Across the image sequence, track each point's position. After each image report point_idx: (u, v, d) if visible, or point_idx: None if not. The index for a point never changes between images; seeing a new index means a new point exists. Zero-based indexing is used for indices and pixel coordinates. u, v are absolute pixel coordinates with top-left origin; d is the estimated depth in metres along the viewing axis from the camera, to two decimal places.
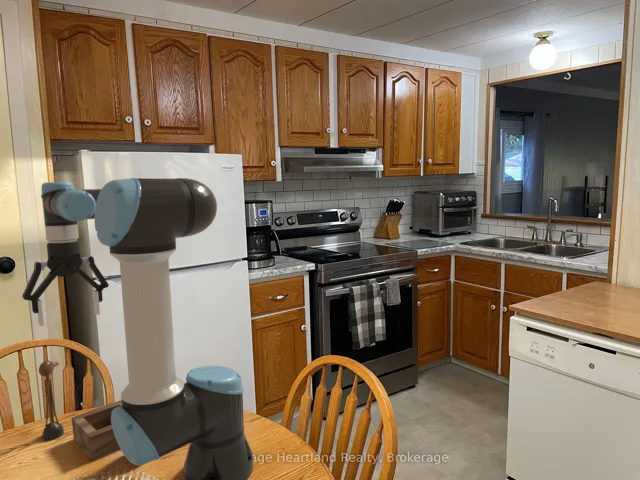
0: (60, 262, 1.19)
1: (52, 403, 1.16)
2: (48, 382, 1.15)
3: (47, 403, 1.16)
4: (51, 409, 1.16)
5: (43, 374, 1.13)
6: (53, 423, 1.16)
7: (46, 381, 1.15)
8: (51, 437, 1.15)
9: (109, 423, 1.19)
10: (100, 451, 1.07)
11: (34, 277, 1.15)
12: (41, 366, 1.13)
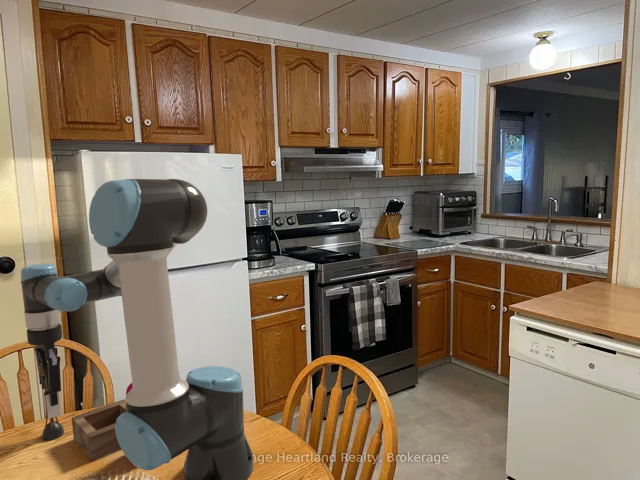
0: None
1: None
2: None
3: None
4: None
5: (42, 373, 1.14)
6: (53, 423, 1.16)
7: (45, 380, 1.15)
8: (51, 437, 1.15)
9: (109, 423, 1.19)
10: (100, 451, 1.07)
11: (37, 362, 1.18)
12: (40, 365, 1.13)
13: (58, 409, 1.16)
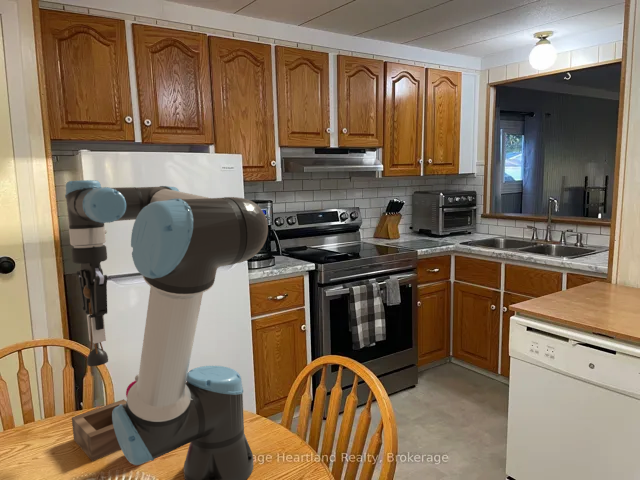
0: (82, 263, 1.10)
1: None
2: None
3: (91, 327, 1.10)
4: None
5: (88, 295, 1.08)
6: (98, 349, 1.11)
7: None
8: (96, 363, 1.09)
9: (109, 423, 1.19)
10: (100, 451, 1.07)
11: (79, 286, 1.12)
12: (86, 287, 1.08)
13: (103, 334, 1.11)
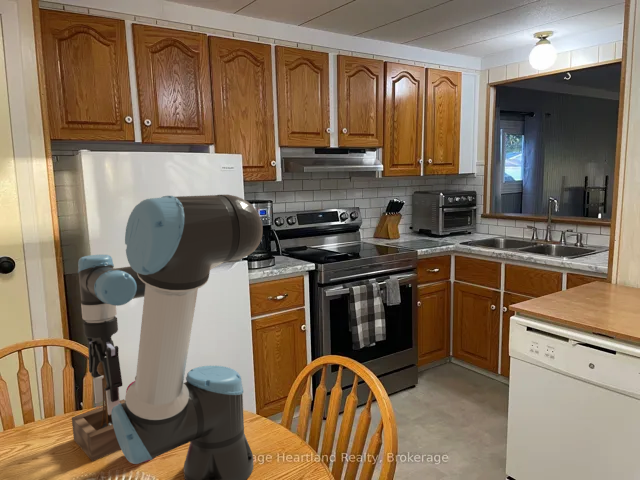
0: (94, 337, 1.12)
1: None
2: None
3: (104, 403, 1.13)
4: (107, 409, 1.13)
5: (101, 373, 1.11)
6: (109, 423, 1.14)
7: (104, 380, 1.12)
8: None
9: None
10: (100, 451, 1.07)
11: (88, 351, 1.16)
12: (100, 365, 1.10)
13: (118, 405, 1.11)
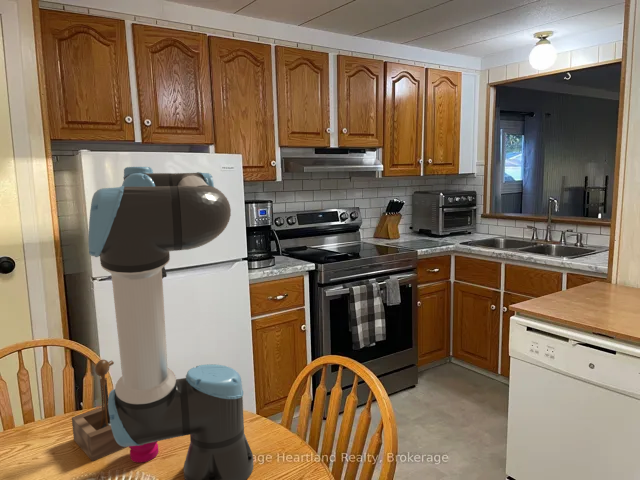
0: None
1: None
2: (104, 382, 1.12)
3: (102, 403, 1.13)
4: (106, 409, 1.13)
5: (99, 373, 1.10)
6: (108, 424, 1.14)
7: (102, 381, 1.12)
8: None
9: None
10: (100, 451, 1.07)
11: None
12: (97, 365, 1.10)
13: None
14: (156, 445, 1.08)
